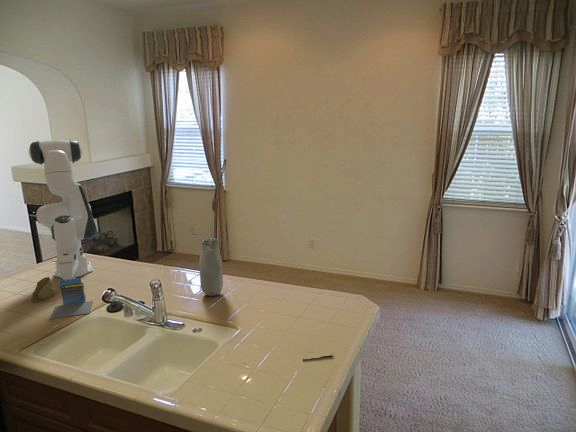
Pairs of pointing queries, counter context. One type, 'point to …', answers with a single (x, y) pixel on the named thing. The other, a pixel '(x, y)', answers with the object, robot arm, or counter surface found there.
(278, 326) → the counter surface
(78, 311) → the mat
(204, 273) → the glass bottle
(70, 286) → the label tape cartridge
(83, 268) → the robot arm
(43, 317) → the counter surface
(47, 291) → the rock
